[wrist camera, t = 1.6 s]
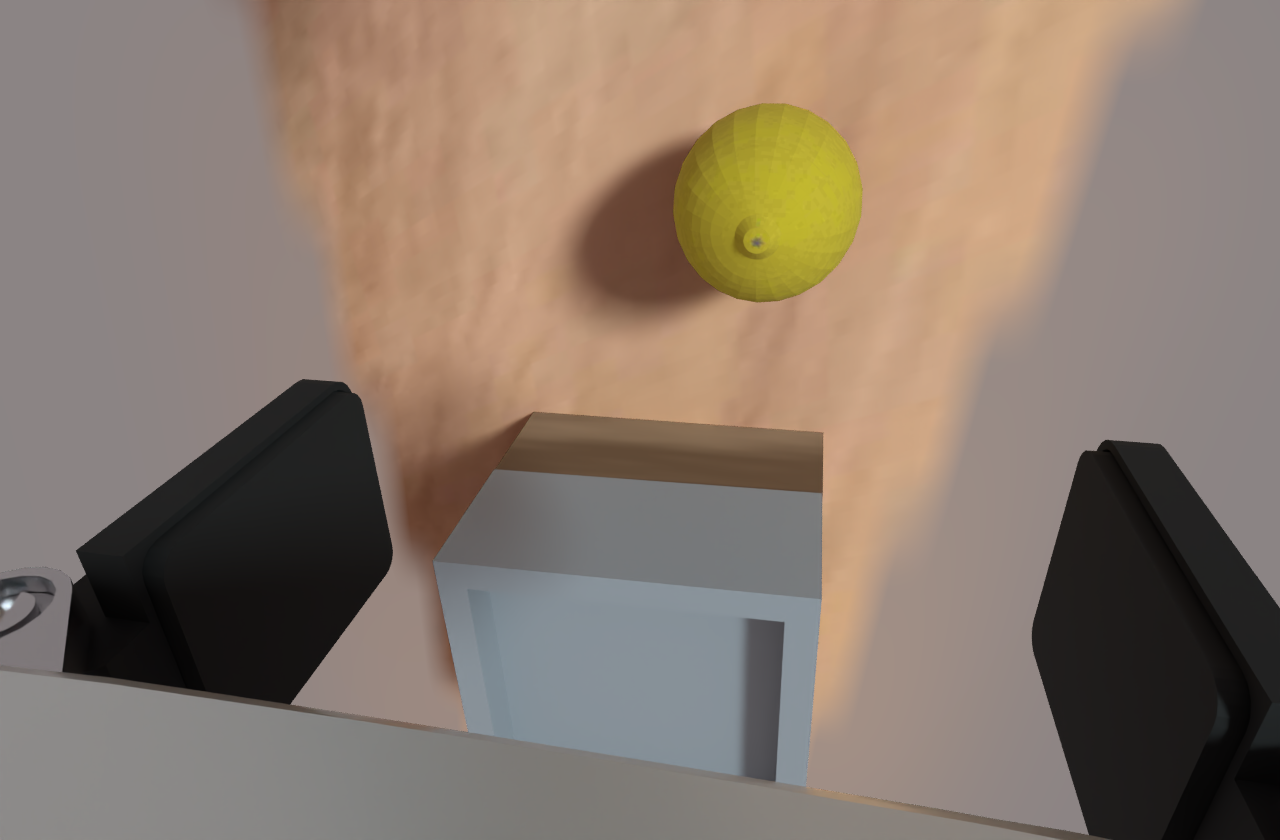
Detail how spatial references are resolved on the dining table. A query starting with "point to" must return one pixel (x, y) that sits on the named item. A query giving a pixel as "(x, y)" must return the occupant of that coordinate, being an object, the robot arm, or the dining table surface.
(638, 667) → the tower top block
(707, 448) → the tower bottom block
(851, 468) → the dining table surface
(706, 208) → the lemon
